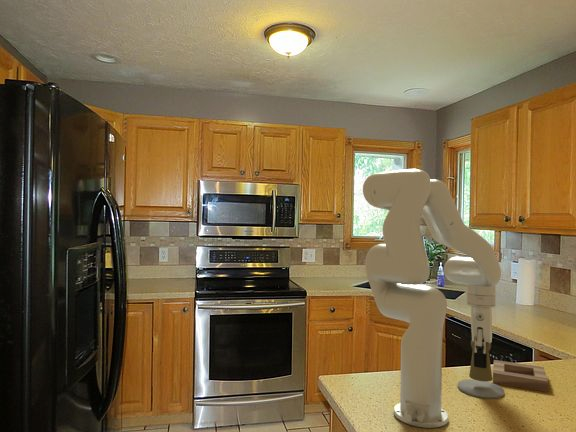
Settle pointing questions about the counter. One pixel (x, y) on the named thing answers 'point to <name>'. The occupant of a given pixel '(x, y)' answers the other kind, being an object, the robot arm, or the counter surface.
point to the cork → (481, 373)
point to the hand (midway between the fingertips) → (480, 363)
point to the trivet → (480, 389)
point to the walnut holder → (520, 375)
